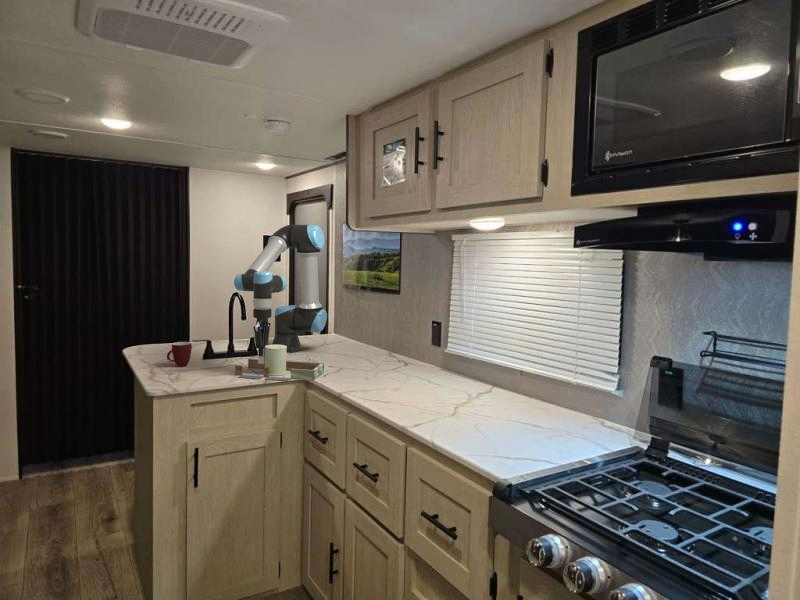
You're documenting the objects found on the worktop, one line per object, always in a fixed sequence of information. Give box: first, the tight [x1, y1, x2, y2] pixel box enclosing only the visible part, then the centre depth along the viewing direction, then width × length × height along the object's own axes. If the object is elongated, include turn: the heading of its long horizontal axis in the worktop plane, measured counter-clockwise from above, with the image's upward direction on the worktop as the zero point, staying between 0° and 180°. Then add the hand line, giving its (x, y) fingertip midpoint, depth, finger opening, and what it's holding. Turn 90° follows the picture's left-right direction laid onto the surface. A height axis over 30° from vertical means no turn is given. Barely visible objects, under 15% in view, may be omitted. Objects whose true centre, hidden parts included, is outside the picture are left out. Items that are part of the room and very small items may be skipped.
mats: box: [237, 374, 291, 382], centre depth 219 cm, size 4×21×1 cm, turn 82°
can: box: [265, 344, 287, 377], centre depth 228 cm, size 9×9×12 cm
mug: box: [166, 341, 193, 368], centre depth 236 cm, size 10×8×10 cm
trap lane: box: [234, 358, 325, 381], centre depth 228 cm, size 14×34×4 cm, turn 82°
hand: (261, 363), depth 228 cm, fingers closed
